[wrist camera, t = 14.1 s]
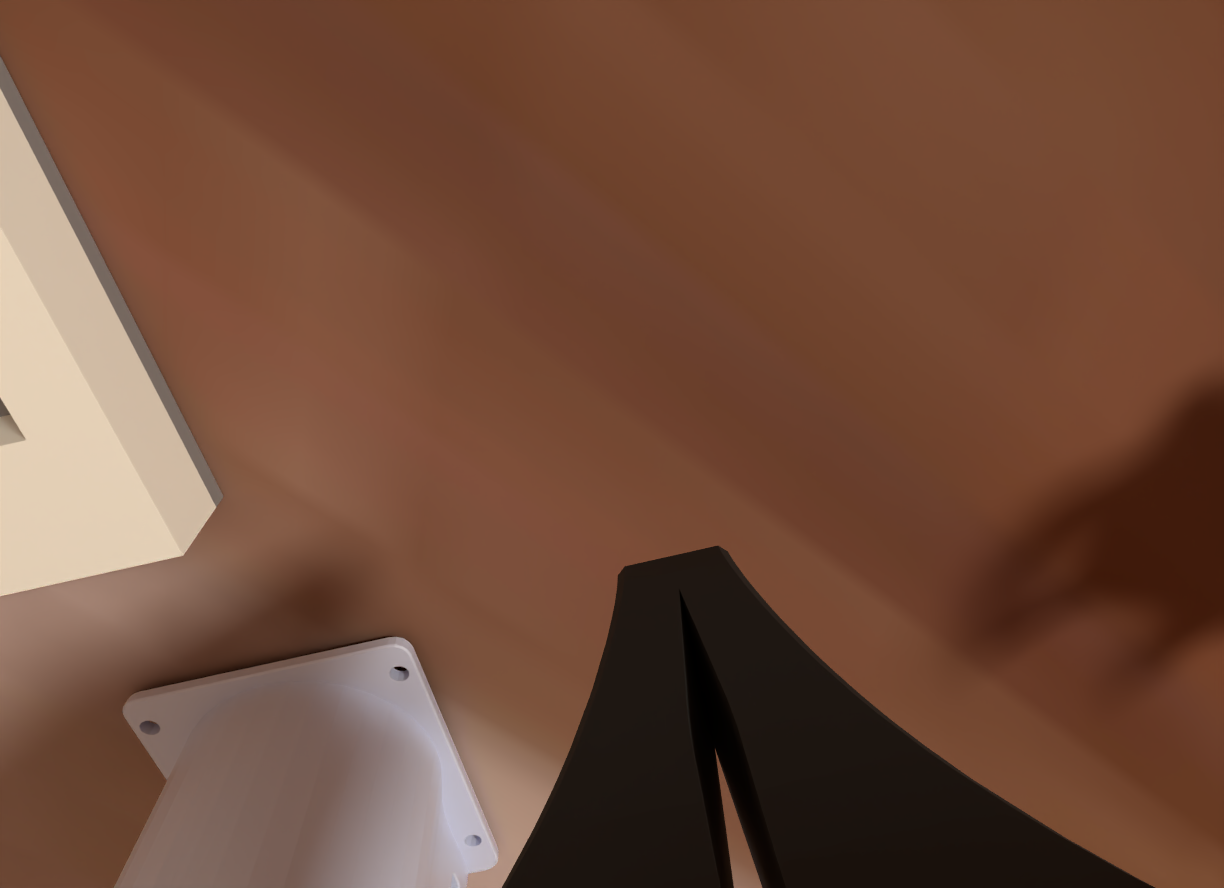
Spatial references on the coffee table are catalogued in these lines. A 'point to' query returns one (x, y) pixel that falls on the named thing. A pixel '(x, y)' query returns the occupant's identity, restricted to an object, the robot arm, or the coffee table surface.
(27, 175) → the faceplate
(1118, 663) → the coffee table surface
